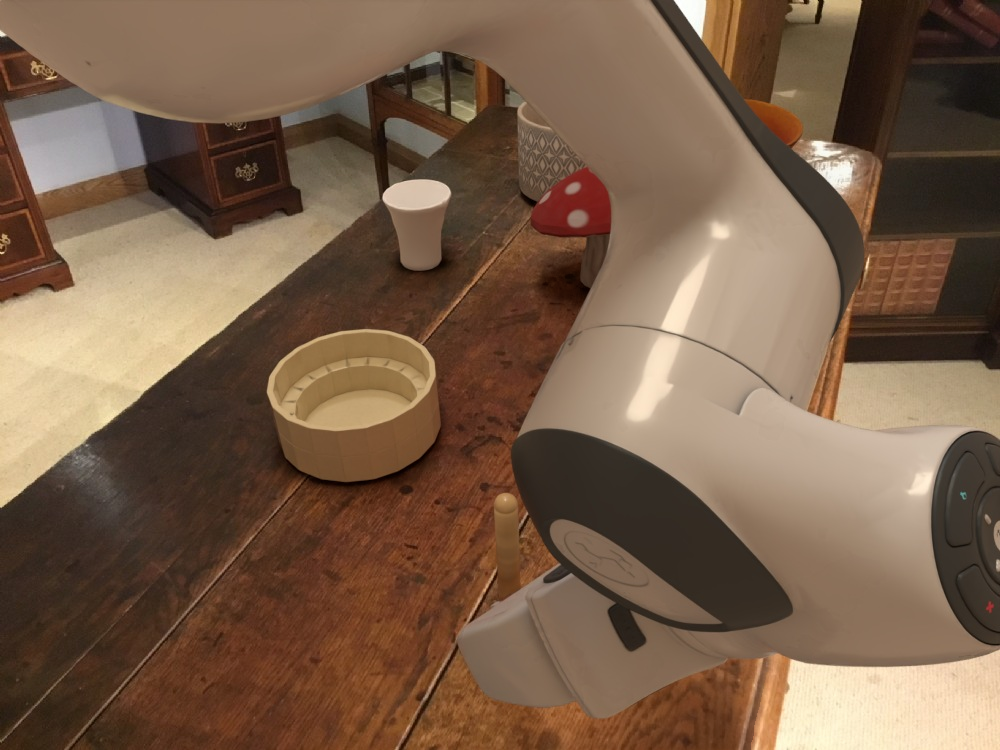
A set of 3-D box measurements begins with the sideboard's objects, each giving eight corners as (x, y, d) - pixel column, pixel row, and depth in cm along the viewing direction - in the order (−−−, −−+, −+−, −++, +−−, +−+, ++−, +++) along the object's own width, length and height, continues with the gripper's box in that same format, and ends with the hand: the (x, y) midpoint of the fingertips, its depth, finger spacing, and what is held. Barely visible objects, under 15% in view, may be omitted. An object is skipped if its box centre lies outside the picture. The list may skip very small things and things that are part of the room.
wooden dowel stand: (540, 684, 63) (538, 530, 53) (471, 673, 64) (457, 520, 54) (550, 626, 67) (550, 473, 57) (486, 617, 68) (475, 464, 58)
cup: (428, 284, 110) (421, 213, 104) (376, 264, 114) (366, 195, 108) (471, 256, 115) (467, 187, 109) (420, 238, 120) (413, 171, 114)
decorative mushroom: (518, 306, 105) (515, 193, 96) (544, 245, 117) (543, 140, 108) (649, 319, 101) (658, 204, 92) (661, 255, 114) (670, 147, 105)
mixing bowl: (416, 495, 79) (408, 438, 75) (254, 475, 82) (238, 420, 78) (457, 389, 92) (452, 336, 88) (315, 375, 95) (305, 323, 91)
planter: (599, 224, 122) (602, 138, 114) (499, 202, 128) (496, 119, 121) (643, 180, 133) (649, 99, 125) (549, 162, 140) (549, 84, 132)
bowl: (777, 225, 119) (790, 158, 113) (631, 202, 127) (636, 137, 121) (802, 168, 134) (814, 105, 128) (670, 150, 142) (676, 90, 136)
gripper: (799, 414, 47) (653, 455, 59) (508, 613, 37) (405, 612, 49) (854, 516, 46) (696, 536, 58) (576, 744, 37) (456, 711, 49)
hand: (562, 572), depth 54 cm, fingers open, 8 cm apart
